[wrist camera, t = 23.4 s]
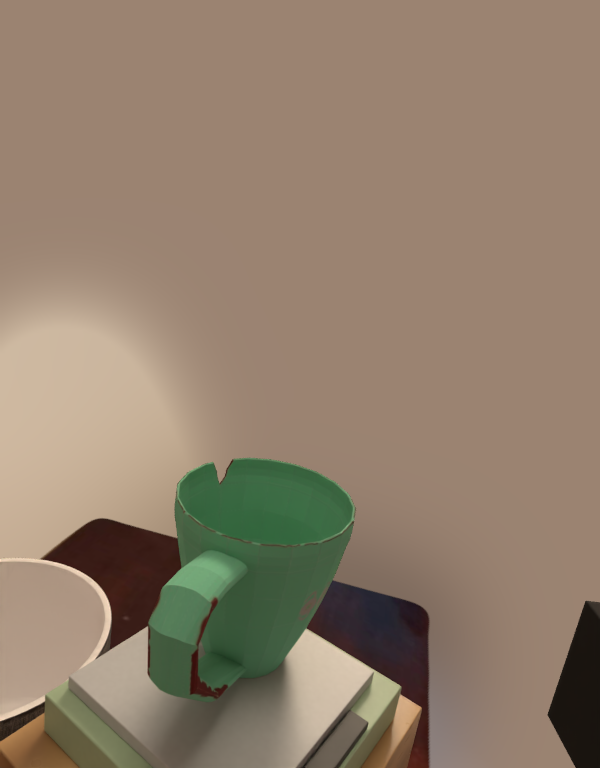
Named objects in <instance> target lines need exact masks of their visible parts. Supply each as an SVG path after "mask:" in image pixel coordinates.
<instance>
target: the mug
mask: <svg viewBox="0 0 600 768" xmlns="http://www.w3.org/2000/svg"><path fill="white" fill-rule="evenodd" d="M355 511H356V508H355V506H354V503H353V501H352V499H351V497H350V495H349V494H348V493H347V492H346V491H345V490H343V489H342V488H341V487H340V486H339V485H338V484H337V483H336V482H334V481H332V480H331V479H329V478H327V477H325V476H323V475H322V474H320V473H318V472H316V471H313V470H310V469H307V468H304V467H301V466H298V465H296V464H291V463H286V462H281V461H277V460H271V459H258V458H239V459H233V460H232V461H231V463H230V465H229V466H228V468H227V470H226V474H225V477H224V478H223V480H222V481H221V482H220V484H219V481H218V478H217V471H216V468H215V465H214V463H213V462H211V463H207V464H204V465H201V466H200V467H198V468H195V469H193V470H191V471H189V472H188V473H187V474H186V475H185V476H184V477H183V478H182V479H181V480H180V481H179V483H178V484H177V491H176V499H175V521H176V528H177V536H178V544H179V552H180V559H181V566H182V568H181V569H180V570H179V571H178V572H177V573H176V574H175V575H174V577H173V578H172V579H171V580H170V581H169V582H168V583H167V584H166V585H165V586H164V587H163V588H162V590H161V593H160V595H159V598H158V600H157V603H156V605H155V608H154V610H153V613H152V615H151V618H150V620H149V623H148V669H147V674H148V676H149V678H150V679H151V680H152V682H153V683H154V684H155V685H156V686H157V687H158V689H159V690H161V691H163V692H165V693H167V694H170V695H173V696H176V697H181V698H187V699H192V700H197V701H202V702H213V701H215V700H217V699H218V698H219V697H220V696H221V695H222V694H223V693H224V692H225V691H226V690H227V689H228V688H229V687H230V686H231V685H232V684H233V683H234V682H235V681H236V680H237V679H238V678H258V677H262V676H265V675H268V674H269V673H271V672H273V671H274V670H276V669H277V668H278V667H279V665H280V664H281V663H282V662H283V660H284V659H285V657H286V656H287V655H288V653H289V652H290V650H291V649H292V648H293V646H294V645H295V644H296V642H297V641H298V639H299V638H300V637H301V635H302V634H303V632H304V631H305V629H306V627H307V626H308V624H309V622H310V620H311V619H312V617H313V615H314V614H315V612H316V610H317V608H318V607H319V605H320V603H321V602H322V600H323V598H324V596H325V594H326V592H327V590H328V588H329V586H330V584H331V582H332V580H333V578H334V576H335V574H336V571H337V569H338V566H339V564H340V561H341V559H342V556H343V554H344V551H345V549H346V546H347V544H348V542H349V540H350V537H351V534H352V529H353V524H354V518H355ZM200 640H201V642H202V645H203V648H204V651H205V653H206V654H205V655H204V656H203V657H201V658H200V659H199V660H198V651H199V643H200Z"/></svg>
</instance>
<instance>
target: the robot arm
mask: <svg viewBox="0 0 600 768" xmlns="http://www.w3.org/2000/svg"><path fill="white" fill-rule="evenodd" d="M548 717H549V718H550V720H551V722H552V724H553V726H554V728H555V729H556V732H557V733H558V735H559V737H560V739H561V741H562V743H563V745H564V747H565V748H566V750H567V752H568V754H569V756H570V758H571V760H572V762H573V763H574V765H575V767H576V768H600V603H599V602H591V601H585V605H584V608H583V610H582V613H581V616H580V619H579V622H578V625H577V628H576V632H575V634H574V637H573V640H572V643H571V646H570V649H569V652H568V655H567V658H566V661H565V664H564V667H563V670H562V673H561V676H560V679H559V682H558V685H557V688H556V691H555V694H554V697H553V700H552V703H551V706H550V709H549V712H548Z"/></svg>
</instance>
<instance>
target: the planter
mask: <svg viewBox="0 0 600 768" xmlns="http://www.w3.org/2000/svg"><path fill="white" fill-rule="evenodd" d="M111 625H112V612H111V607H110V603H109V601H108V598H107V596H106V594H105V593H104V591H103V590H102V589H101V587H100V586H99V585H98V584H97V583H96V582H95V581H94V580H92V579H91V578H90V577H88V576H87V575H85V574H84V573H82V572H80V571H78V570H76V569H74V568H71V567H69V566H66V565H63V564H60V563H56V562H51V561H46V560H39V559H28V558H3V559H0V742H1V741H2V740H4V739H5V738H7V737H8V736H10V735H11V734H13V733H14V732H16V731H17V730H19V729H20V728H22V727H23V726H25V725H26V724H28V723H29V722H31V721H32V720H34V719H36V718H37V717H39V716H40V715H42V714H43V713H45V695H46V694H47V693H48V692H50V691H52V690H53V689H55V688H56V687H58V686H59V685H61V684H63V683H64V682H66V681H67V680H69V676H70V675H71V674H73V673H74V672H76V671H78V670H79V669H81V668H82V667H84V666H86V665H87V664H89V663H90V662H92V661H94V660H95V659H97V658H98V657H100V656H102V655H103V654H105V653H106V652H108V651H110V638H111Z"/></svg>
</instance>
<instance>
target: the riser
mask: <svg viewBox="0 0 600 768" xmlns="http://www.w3.org/2000/svg"><path fill="white" fill-rule="evenodd" d="M421 710H422V708H421V707H419V706H418V705H416V704H415V703H413V702H411V701H410V700H408V699H407V698H405V697H403V696H402V695H400V696H399V700H398V704H397V708H396V712H395V716H394V719H393V721H392V722H391V723H390V725H389V726H388V728H387V729H386V731H385V732H384V734H383V735H382V737H381V738H380V740H379V741H378V743H377V744H376V746H375V747H374V749H373V750H372V751H371V753H370V754H369V756H368V757H367V759H366V760H365V762H364V763H363V765H362V766H361V768H407V765H408V761H409V757H410V753H411V749H412V745H413V741H414V737H415V734H416V730H417V726H418V722H419V718H420V714H421ZM44 716H45V713H43V714H42V715H40V716H39V717H37V718H36V719H34V720H32V721H31V722H29V723H28V724H26V725H25V726H23V727H22V728H20V729H19V730H17V731H16V732H14V733H13V734H11V735H10V736H8V737H7V738H5V739H4V740H2V741H1V742H0V768H80V767H79V766H78V765H77V764H76V763H75V762H74V761H73V760H72V759H71V758H70V757H69V756H68V755H67V754H66V753H65V752H64V750H63V749H62V748H61V747H60V746H59V745H58V744H57V743H56V742H55V741H54V740H53V739H52V738H51V737H50V736H49V735H48V734H47V733H46V732H45V731H44Z"/></svg>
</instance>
